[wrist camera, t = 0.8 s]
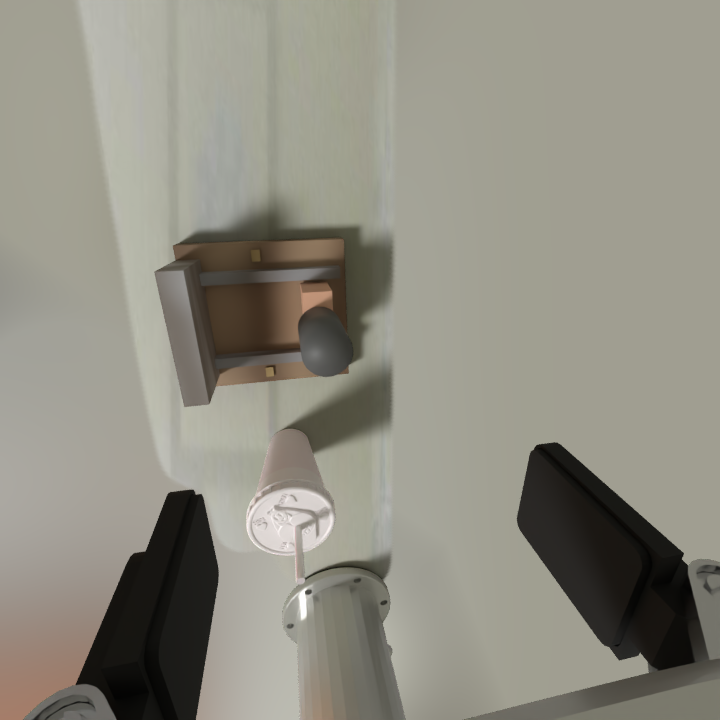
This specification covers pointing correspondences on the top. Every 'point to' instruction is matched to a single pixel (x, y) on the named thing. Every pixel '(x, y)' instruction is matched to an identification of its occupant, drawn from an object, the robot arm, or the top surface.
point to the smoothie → (290, 501)
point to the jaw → (322, 332)
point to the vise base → (243, 309)
